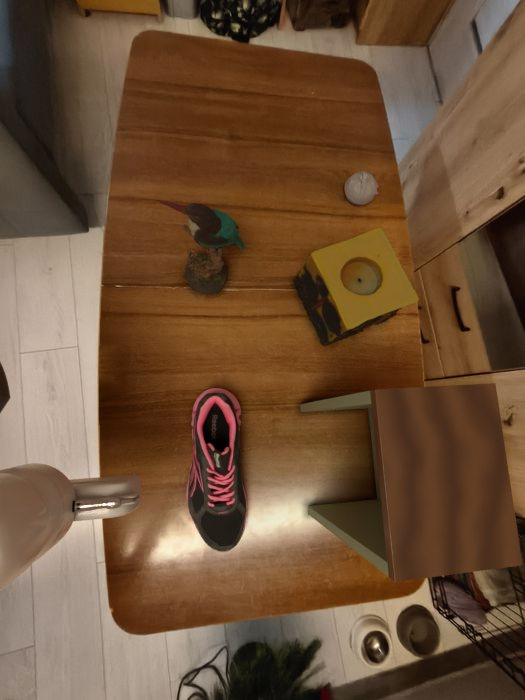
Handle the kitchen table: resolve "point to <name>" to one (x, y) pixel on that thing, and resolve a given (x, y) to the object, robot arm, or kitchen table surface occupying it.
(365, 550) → the dark grey angular piece
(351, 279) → the candle
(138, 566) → the kitchen table surface
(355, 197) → the garlic bulb
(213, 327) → the kitchen table surface
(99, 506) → the robot arm
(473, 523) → the board
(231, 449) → the running shoe
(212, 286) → the sculpture
